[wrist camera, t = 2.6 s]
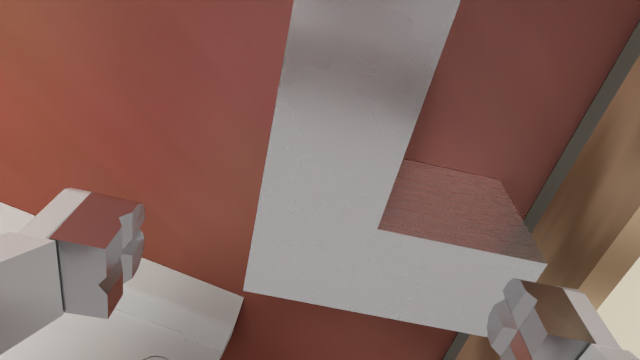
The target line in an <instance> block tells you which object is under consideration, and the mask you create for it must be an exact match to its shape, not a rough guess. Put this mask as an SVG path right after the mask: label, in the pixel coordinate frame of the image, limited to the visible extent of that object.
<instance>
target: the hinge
mask: <svg viewBox="0 0 640 360" xmlns="http://www.w3.org/2000/svg"><path fill="white" fill-rule="evenodd" d="M34 217H35V216H34V215H32V214H29V213H27V212H24V211H22V210H19V209H16V208H14V207H11V206H9V205H6V204H4V203H1V202H0V235H1V234H4V233H7V232H14V233H18V232H19V231H20V230H21V229H23V228H24V227H25V226H26V225H27V224H28V223H29V222H30V221H31V220H32V219H33V218H34ZM243 299H244V297H242V296H239V295H237V294H234V293H232V292H229V291H226V290H224V289H221V288H219V287H216V286H214V285H211V284H209V283H206V282H203V281H201V280H198V279H196V278H193V277H191V276H188V275H186V274H183V273H180V272H178V271H175V270H173V269H170V268H168V267H165V266H162V265H160V264H157V263H155V262H152V261H150V260H147V259H145V258H141V261H140V264H139V267H138V269H137V271H136V273H135V275H134V277H133V278H132V279H131V280H129V281H127V282H125V283H123V295H122V297H121V299H120V300H119V302H118V304H117V305H116V307H115V309H114V310H113V312H112V314H111V315H110V317H109V319H104V318H97V317H91V316H84V315H77V314H71V313H64V312H63V313H64V314H63V315H62V316H61V317H59V318H58V319H56V320H55V321H53V322H51V323H50V324H48V325H47V326H45V327H44V328H42V329H40V330H39V331H37V332H36V333H34V334H33V335H31V336H29V337H28V338H26V339H25V340H23V341H22V342H20V343H18V344H17V345H15V346H14V347H12V348H11V349H9V350H7V351H6V352H4V353H3V354H1V355H0V360H220V359H221V357H222V355H223V353H224V351H225V348H226V346H227V344H228V342H229V340H230V338H231V336H232V332H233V329H234V326H235V323H236V320H237V317H238V314H239V311H240V308H241V306H242V303H243Z"/></svg>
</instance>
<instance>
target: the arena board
mask: <svg viewBox="0 0 640 360" xmlns="http://www.w3.org/2000/svg"><path fill="white" fill-rule="evenodd" d="M639 55H640V21H639V23H638V25H637V26H636V28H635V30H634V31H633V33H632V35H631V37H630V38H629V40H628V42H627V44H626V45H625V47H624V49H623V50H622V52H621V54H620V56H619V57H618V59H617V61H616V62H615V64H614V66H613V68H612V69H611V71H610V73H609V74H608V76H607V78H606V80H605V81H604V83H603V85H602V87H601V88H600V90H599V92H598V93H597V95H596V97H595V99H594V100H593V102H592V104H591V105H590V107H589V109H588V111H587V112H586V114H585V116H584V117H583V119H582V121H581V123H580V124H579V126H578V128H577V130H576V131H575V133H574V135H573V136H572V138H571V140H570V142H569V143H568V145H567V147H566V148H565V150H564V152H563V154H562V155H561V157H560V159H559V160H558V162H557V164H556V166H555V167H554V169H553V171H552V173H551V174H550V176H549V178H548V179H547V181H546V183H545V185H544V186H543V188H542V190H541V191H540V193H539V195H538V197H537V198H536V200H535V202H534V203H533V205H532V207H531V209H530V210H529V212H528V214H527V216H526V217H525V219H524V221H523V222H524V224H525V225H526V227H527V229H528V231H529V232H530V234H531V233H532V232H533V230H534V228H535V227H536V225H537V223H538V222H539V220H540V219H541V217H542V215H543V214H544V212H545V210H546V209H547V207H548V205H549V204H550V202H551V200H552V199H553V197H554V195H555V194H556V192H557V190H558V189H559V187H560V185H561V184H562V182H563V180H564V179H565V177H566V176H567V174H568V172H569V171H570V169H571V167H572V166H573V164H574V162H575V161H576V159H577V157H578V156H579V154H580V152H581V151H582V149H583V147H584V146H585V144H586V142H587V141H588V139H589V138H590V136H591V134H592V133H593V131H594V129H595V128H596V126H597V124H598V123H599V121H600V119H601V118H602V116H603V114H604V113H605V111H606V109H607V108H608V106H609V104H610V103H611V101H612V100H613V98H614V96H615V95H616V93H617V91H618V90H619V88H620V86H621V85H622V83H623V81H624V80H625V78H626V76H627V75H628V73H629V71H630V70H631V68H632V66H633V65H634V63H635V62H636V60H637V58H638V57H639ZM597 313H598V314H599V316H600V317H601V319H602V320H603V322H604V323H605V325H606V326H607V328H608V329H609V331H610V332H611V334H612V335H613V337H614V338H615V340H616V341H617V343H618V344H619V346H620V347H621V349H622V350H627V351H629V352H631V353H632V354H633V355H635V356H636V357H637V358H639V359H640V257H639V258H638V259H637V261H636V262H635V263H634V264H633V266H632V267H631V268H630V269H629V271H628V272H627V273H626V274H625V276H624V277H623V278H622V279H621V281H620V282H619V283H618V284H617V286H616V287H615V288H614V289H613V291H612V292H611V293H610V294H609V296H608V297H607V298H606V299H605V301H604V302H603V303H602V304H601V306H600V307H599V308H598V309H597ZM469 336H470V334H467V333H462V332H458V334H457V336H456V338H455V339H454V341H453V343H452V345H451V346H450V348H449V350H448V351H447V353H446V355H445V357H444V358H443V360H455V359H456V357H457V356H458V354H459V352H460V351H461V349H462V347H463V346H464V344H465V342H466V341H467V339H468V337H469Z"/></svg>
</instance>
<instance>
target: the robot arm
mask: <svg viewBox="0 0 640 360" xmlns="http://www.w3.org/2000/svg"><path fill="white" fill-rule="evenodd" d="M144 220H145V207H144V205H143V204H142V203H140V202H135V201H131V200H126V199H122V198H117V197H113V196H108V195H104V194H99V193H93V192H89V191H85V190H80V189H75V188H67V189H64V190H63V191H62V192H60V193H59V194H58V195H57V196H56V197H55V198H54V199H53V200H52V201H51V202H50V203H49V204H48V205H47V206H46V207H45V208H44V209H43V210H41V211H40V212H39V213H38V214H37V215H36V216H35V217H34V218H33V219H32V220H31V221H30V222H29V223H28V224H27V225H26V226H25V227H24V228H23V229H21V230H20V231H19V232H18V233H14V232H7V233H4V234H1V235H0V355H1V354H3V353H4V352H6V351H7V350H9V349H11V348H12V347H14V346H15V345H17V344H18V343H20V342H22V341H23V340H25V339H26V338H28V337H29V336H31V335H33V334H34V333H36V332H37V331H39V330H40V329H42V328H44V327H45V326H47V325H48V324H50V323H51V322H53V321H55V320H56V319H58V318H59V317H61V316H62V315H63V314H64V313H71V314H77V315H84V316H91V317H97V318H104V319H109V317H110V315H111V314H112V312H113V310H114V309H115V307H116V305H117V304H118V302H119V300H120V299H121V297H122V295H123V283H125V282H127V281H129V280H131V279H132V278H133V277H134V275H135V273H136V271H137V269H138V267H139V264H140V261H141V258H142V256H143V250H144V238H145V236H144V235H143V233H142V232H141V231H140V229H139V228H140V226H141V225H142V223H143V222H144ZM503 294H504V297H505V299H504V300H502V301H500V302H498V303H496V304H495V305H494V306H493V308H492V310H491V312H490V314H489V316H488V322H487V334H488V339H489V342H490V345H491V347H492V348H493V349H494V350H495V351H496V352H497V353H498V354H499V355H500V356H501V357H500V359H499V360H640V359H639V358H637V357H636V356H635V355H633V354H632V353H631V352H629V351H627V350H622V349H621V347H620V346H619V344H618V343H617V341H616V340H615V338H614V337H613V335H612V334H611V332H610V331H609V329H608V328H607V326H606V325H605V323H604V322H603V320H602V319H601V317H600V316H599V314H598V313H597V311H596V310H595V308H594V307H593V305H592V304H591V302H590V301H589V299H588V298H587V296H586V295H585V294H584V293H583V292H581V291H580V290H578V289H572V288H566V287H560V286H551V285H546V284H541V283H536V282H531V281H526V280H521V279H515V278H513V279H512V280H510V281H509V282H508V283H507V284H506V286H505V288H504V289H503ZM63 312H64V313H63Z"/></svg>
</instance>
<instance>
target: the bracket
mask: <svg viewBox="0 0 640 360" xmlns="http://www.w3.org/2000/svg"><path fill="white" fill-rule="evenodd" d="M460 1H461V0H294V3H293V8H292V14H291V20H290V25H289V31H288V37H287V42H286V48H285V54H284V60H283V65H282V71H281V77H280V82H279V88H278V94H277V100H276V105H275V111H274V117H273V122H272V128H271V134H270V140H269V145H268V151H267V157H266V162H265V168H264V174H263V180H262V185H261V191H260V197H259V202H258V208H257V214H256V220H255V225H254V231H253V237H252V242H251V248H250V254H249V260H248V265H247V271H246V277H245V282H244V288H243V291H247V292H253V293H258V294H263V295H268V296H273V297H279V298H284V299H289V300H294V301H300V302H305V303H310V304H315V305H321V306H326V307H331V308H336V309H342V310H347V311H352V312H357V313H363V314H368V315H373V316H378V317H384V318H389V319H394V320H399V321H404V322H410V323H415V324H420V325H425V326H431V327H436V328H441V329H446V330H452V331H457V332H462V333H467V334H473V335H478V336H483V337H488V334H487V322H488V316H489V314H490V312H491V310H492V308H493V306H494V305H495V304H496V303H498V302H500V301H502V300H504V299H505V297H504V294H503V289H504V288H505V286H506V284H507V283H508V282H509V281H510V280H512V279H513V278H515V279H521V280H526V281H531V282H536V281H537V280H538V278H539V277H540V275H541V274H542V272H543V271H544V269H545V268H546V266H547V265H548V264H547V262H546V260H545V259H544V257H543V255H542V253H541V252H540V250H539V248H538V246H537V245H536V243H535V241H534V239H533V238H532V236H531V234H530V232H529V231H528V229H527V227H526V225H525V224H524V222H523V220H522V218H521V217H520V215H519V213H518V211H517V210H516V208H515V206H514V204H513V203H512V201H511V199H510V197H509V196H508V194H507V192H506V190H505V189H504V187H503V185H502V183H501V182H500V180H498V179H493V178H489V177H484V176H479V175H475V174H470V173H466V172H461V171H457V170H452V169H447V168H443V167H438V166H434V165H429V164H424V163H420V162H415V161H411V160H406V159H403V157H404V155H405V152H406V149H407V146H408V144H409V141H410V138H411V135H412V133H413V130H414V127H415V124H416V122H417V119H418V116H419V114H420V111H421V108H422V105H423V103H424V100H425V97H426V94H427V92H428V89H429V86H430V83H431V81H432V78H433V75H434V72H435V70H436V67H437V64H438V61H439V59H440V56H441V53H442V50H443V48H444V45H445V42H446V39H447V37H448V34H449V31H450V28H451V26H452V23H453V20H454V17H455V15H456V12H457V9H458V7H459V4H460Z"/></svg>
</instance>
